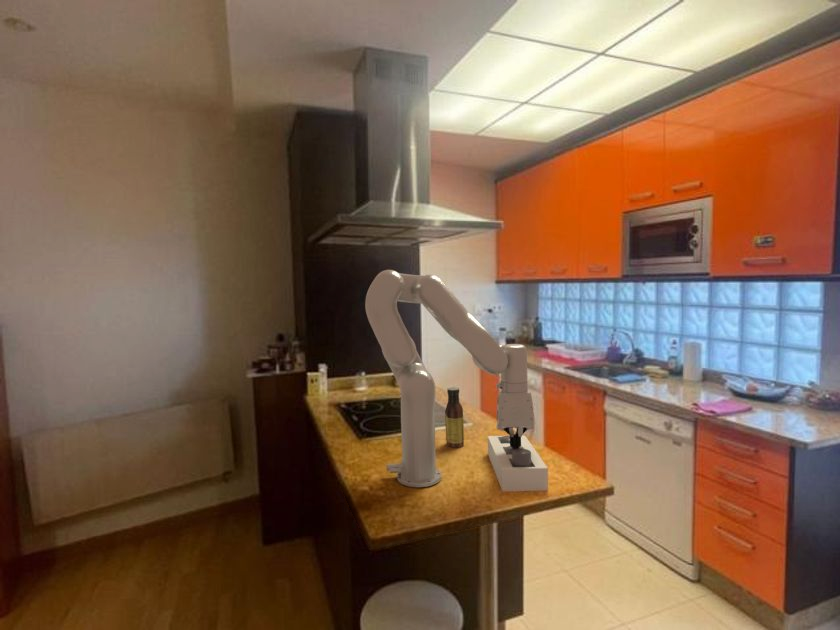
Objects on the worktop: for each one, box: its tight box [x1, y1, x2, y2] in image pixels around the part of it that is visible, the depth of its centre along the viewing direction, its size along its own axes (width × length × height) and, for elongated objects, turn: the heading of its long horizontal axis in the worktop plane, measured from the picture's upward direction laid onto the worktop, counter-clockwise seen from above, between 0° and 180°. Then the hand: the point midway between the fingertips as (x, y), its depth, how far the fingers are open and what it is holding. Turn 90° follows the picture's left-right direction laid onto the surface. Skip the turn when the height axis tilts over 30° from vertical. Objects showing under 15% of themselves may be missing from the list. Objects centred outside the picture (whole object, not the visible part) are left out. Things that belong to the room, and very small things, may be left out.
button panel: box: [487, 434, 549, 492], centre depth 127 cm, size 12×26×6 cm, turn 179°
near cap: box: [512, 448, 531, 467], centre depth 118 cm, size 5×5×6 cm
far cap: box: [501, 435, 510, 444], centre depth 136 cm, size 5×5×6 cm
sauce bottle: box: [444, 387, 465, 448], centre depth 149 cm, size 7×6×20 cm
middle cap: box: [506, 446, 523, 455], centre depth 127 cm, size 5×5×6 cm
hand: (515, 448), depth 127 cm, fingers closed
